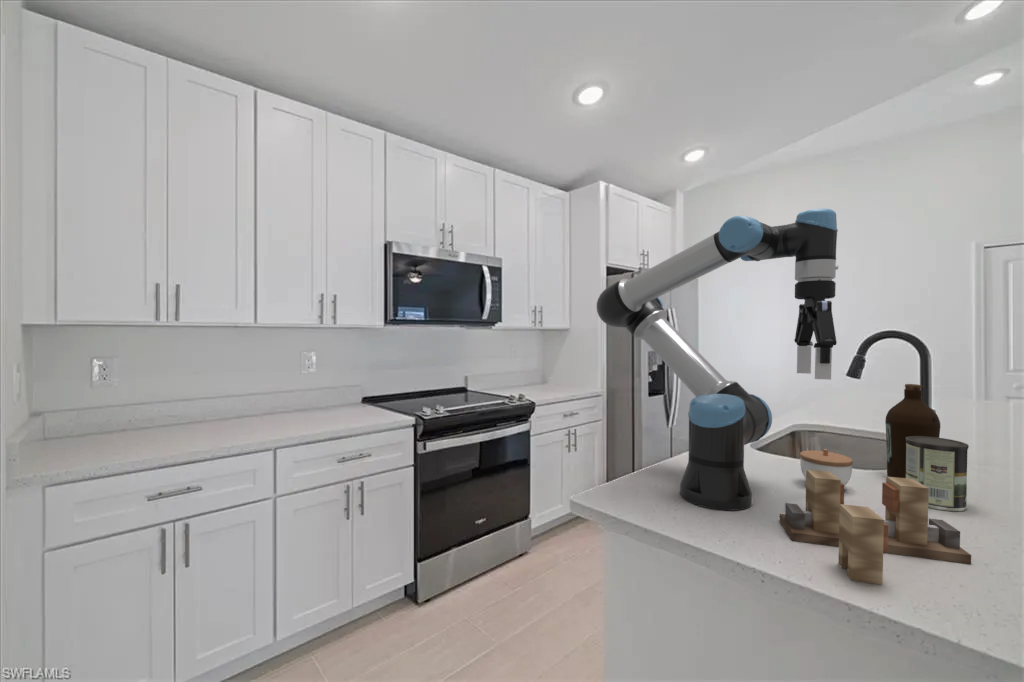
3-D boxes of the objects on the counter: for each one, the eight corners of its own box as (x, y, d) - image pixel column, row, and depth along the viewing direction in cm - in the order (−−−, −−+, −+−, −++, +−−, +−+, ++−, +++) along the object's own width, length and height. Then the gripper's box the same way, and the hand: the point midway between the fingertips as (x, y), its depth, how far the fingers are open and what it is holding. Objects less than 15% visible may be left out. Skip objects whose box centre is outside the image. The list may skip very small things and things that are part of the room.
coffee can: (944, 496, 105) (945, 436, 105) (980, 513, 95) (982, 447, 95) (893, 492, 107) (895, 434, 107) (923, 509, 97) (925, 445, 97)
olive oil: (940, 480, 116) (942, 384, 115) (937, 490, 109) (939, 388, 108) (887, 471, 124) (889, 381, 123) (881, 479, 116) (883, 384, 116)
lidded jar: (858, 497, 104) (859, 457, 104) (804, 491, 108) (805, 452, 108) (844, 482, 114) (844, 446, 114) (795, 477, 118) (795, 442, 118)
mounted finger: (814, 531, 83) (815, 477, 83) (805, 520, 88) (806, 469, 88) (844, 535, 81) (845, 480, 81) (833, 523, 86) (834, 472, 86)
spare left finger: (851, 580, 69) (852, 516, 69) (838, 563, 74) (839, 504, 74) (888, 585, 68) (890, 520, 68) (873, 568, 73) (874, 507, 73)
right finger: (893, 541, 79) (895, 485, 79) (879, 528, 84) (881, 476, 84) (927, 545, 78) (928, 488, 77) (911, 532, 83) (912, 478, 82)
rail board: (792, 540, 82) (792, 516, 82) (779, 520, 91) (779, 499, 91) (971, 564, 74) (971, 537, 74) (938, 539, 83) (939, 515, 83)
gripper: (858, 273, 86) (855, 382, 87) (816, 285, 110) (814, 371, 111) (812, 275, 89) (810, 381, 89) (781, 286, 112) (779, 370, 113)
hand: (812, 376), depth 100 cm, fingers open, 13 cm apart
